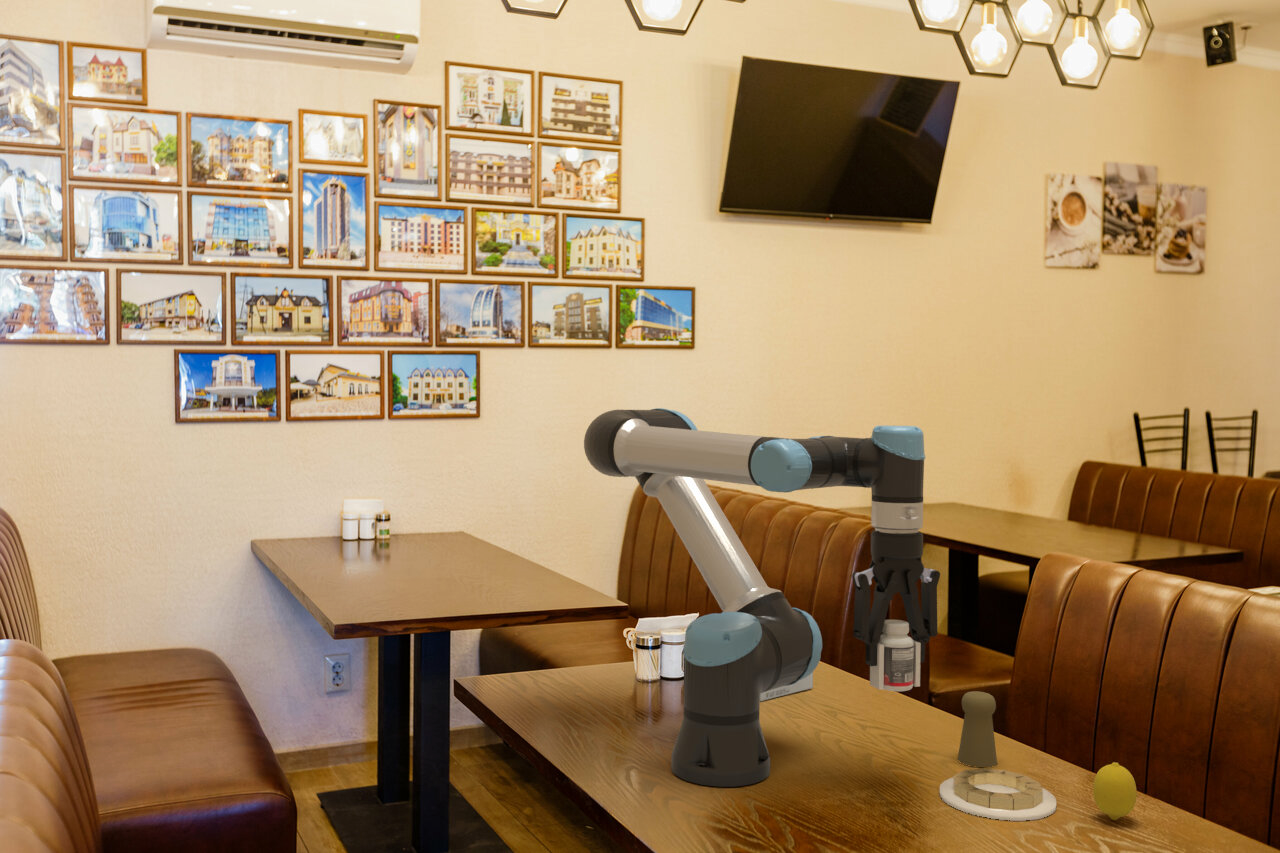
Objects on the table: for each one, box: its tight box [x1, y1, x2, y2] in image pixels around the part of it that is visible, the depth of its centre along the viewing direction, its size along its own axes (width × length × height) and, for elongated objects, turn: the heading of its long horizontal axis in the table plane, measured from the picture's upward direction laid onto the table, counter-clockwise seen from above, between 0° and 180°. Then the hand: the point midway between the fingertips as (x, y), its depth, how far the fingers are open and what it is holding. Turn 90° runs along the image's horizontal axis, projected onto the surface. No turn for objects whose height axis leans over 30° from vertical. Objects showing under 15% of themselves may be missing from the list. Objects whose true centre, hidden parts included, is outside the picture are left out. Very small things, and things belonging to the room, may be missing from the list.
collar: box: [952, 768, 1043, 810], centre depth 160 cm, size 12×12×2 cm
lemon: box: [1092, 761, 1138, 821], centre depth 153 cm, size 6×6×8 cm
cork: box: [957, 690, 998, 768], centre depth 176 cm, size 6×6×11 cm
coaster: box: [939, 777, 1057, 822], centre depth 160 cm, size 16×16×1 cm
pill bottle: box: [879, 619, 914, 692], centre depth 165 cm, size 5×5×10 cm
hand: (894, 685), depth 165 cm, fingers closed on pill bottle, 5 cm apart
